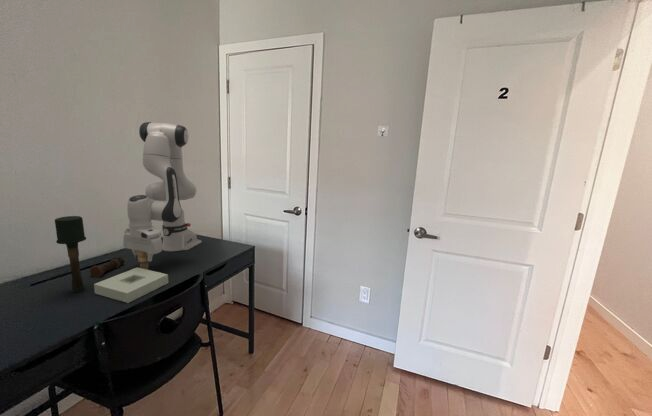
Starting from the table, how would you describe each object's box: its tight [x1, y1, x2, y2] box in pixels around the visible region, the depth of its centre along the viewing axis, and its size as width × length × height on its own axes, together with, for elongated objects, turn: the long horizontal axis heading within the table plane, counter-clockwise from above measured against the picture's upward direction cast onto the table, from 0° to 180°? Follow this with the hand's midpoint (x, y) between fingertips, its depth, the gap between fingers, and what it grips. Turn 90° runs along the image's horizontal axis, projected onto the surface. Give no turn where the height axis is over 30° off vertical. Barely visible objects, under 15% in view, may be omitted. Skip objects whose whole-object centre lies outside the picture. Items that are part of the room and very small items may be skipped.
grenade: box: [54, 215, 87, 293], centre depth 109 cm, size 8×9×30 cm
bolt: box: [89, 257, 125, 278], centre depth 131 cm, size 6×5×15 cm
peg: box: [137, 250, 150, 270], centre depth 130 cm, size 4×4×11 cm
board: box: [93, 267, 169, 304], centre depth 116 cm, size 18×18×4 cm
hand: (143, 259), depth 130 cm, fingers open, 6 cm apart
